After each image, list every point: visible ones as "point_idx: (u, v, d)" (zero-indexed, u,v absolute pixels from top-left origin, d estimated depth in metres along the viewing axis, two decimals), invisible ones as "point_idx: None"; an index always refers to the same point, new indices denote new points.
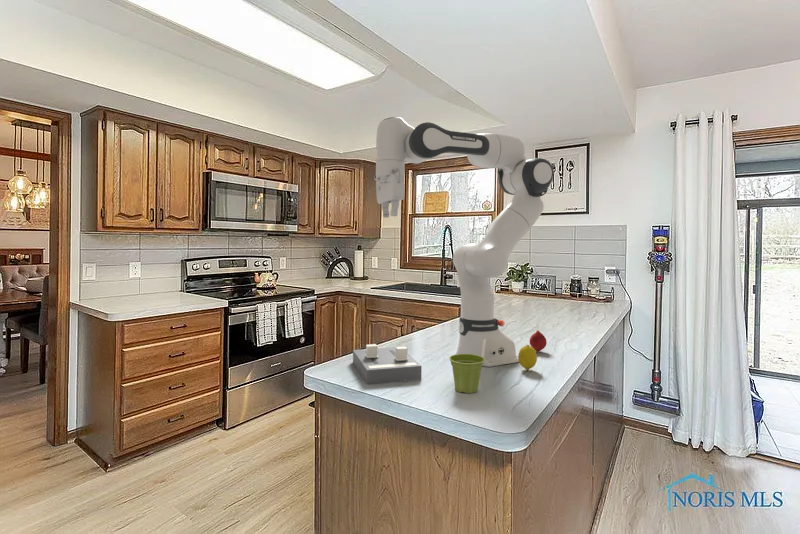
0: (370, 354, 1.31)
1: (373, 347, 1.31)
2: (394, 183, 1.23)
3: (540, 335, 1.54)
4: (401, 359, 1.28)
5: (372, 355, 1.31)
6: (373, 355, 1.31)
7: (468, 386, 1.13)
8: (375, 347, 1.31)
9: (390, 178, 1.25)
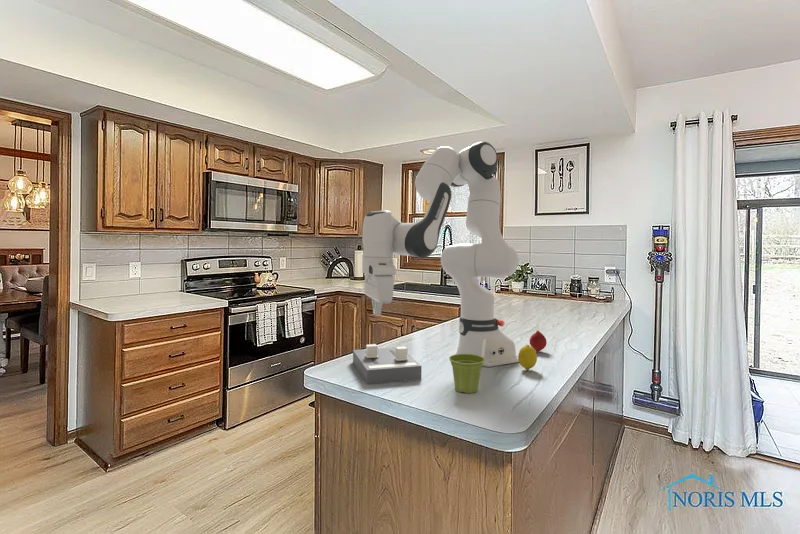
0: (370, 354, 1.31)
1: (373, 347, 1.31)
2: None
3: (540, 335, 1.54)
4: (401, 359, 1.28)
5: (372, 355, 1.31)
6: (373, 355, 1.31)
7: (468, 386, 1.13)
8: (375, 347, 1.31)
9: None
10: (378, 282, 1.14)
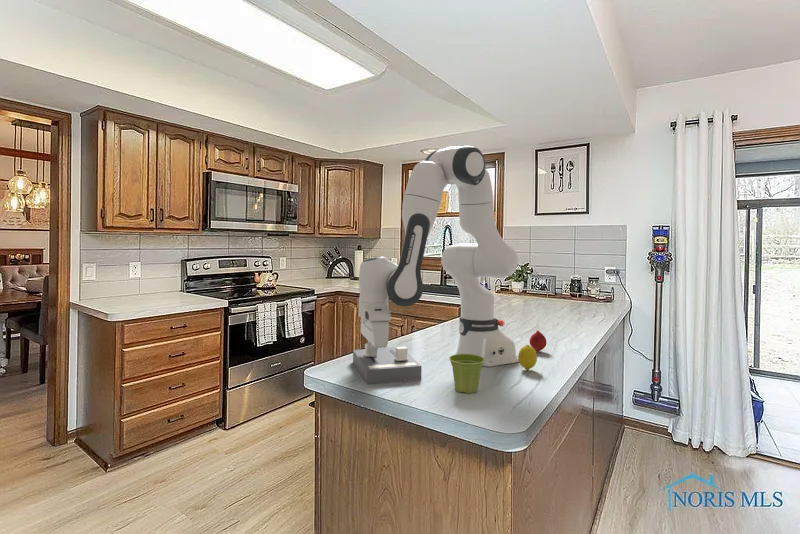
0: None
1: None
2: None
3: (540, 335, 1.54)
4: (401, 359, 1.28)
5: None
6: None
7: (468, 386, 1.13)
8: None
9: None
10: (374, 328, 1.20)
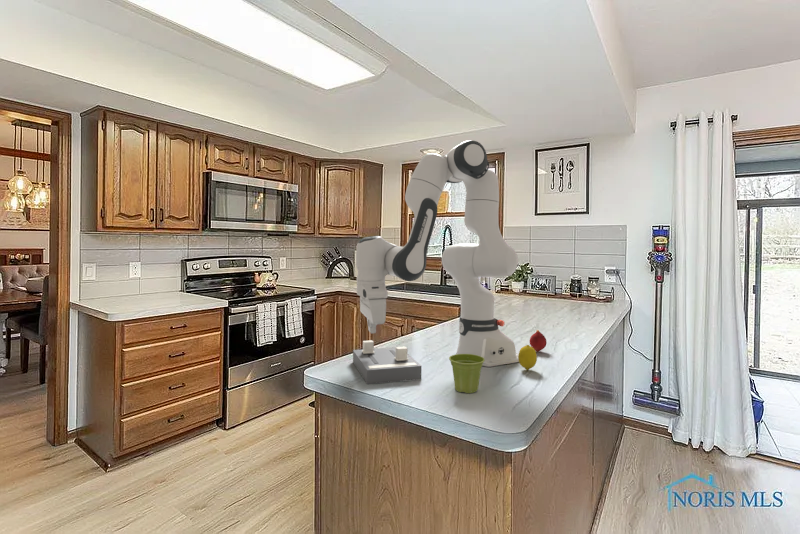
0: (367, 350, 1.35)
1: (369, 343, 1.36)
2: None
3: (540, 335, 1.54)
4: (401, 359, 1.28)
5: (368, 351, 1.36)
6: (369, 351, 1.36)
7: (468, 386, 1.13)
8: (371, 343, 1.36)
9: None
10: (372, 305, 1.24)
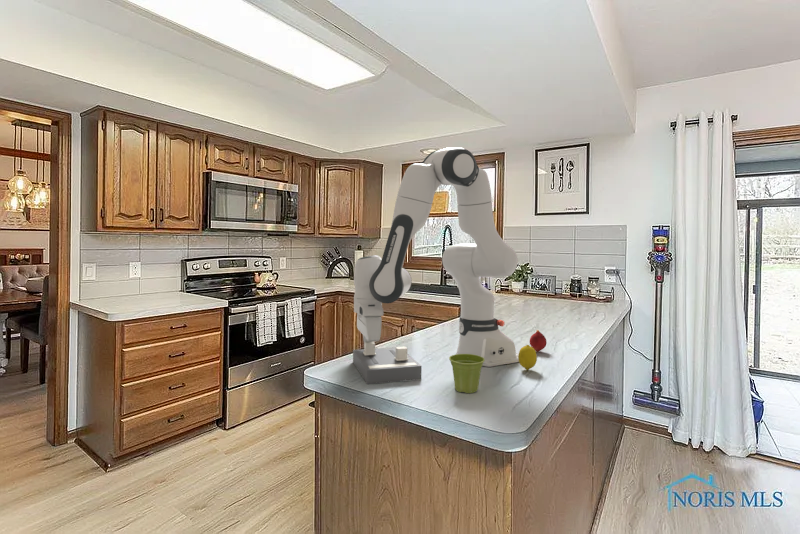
0: (368, 352, 1.34)
1: (371, 345, 1.34)
2: None
3: (540, 335, 1.54)
4: (401, 359, 1.28)
5: (370, 352, 1.34)
6: (371, 352, 1.34)
7: (468, 386, 1.13)
8: (373, 345, 1.34)
9: None
10: (367, 323, 1.28)
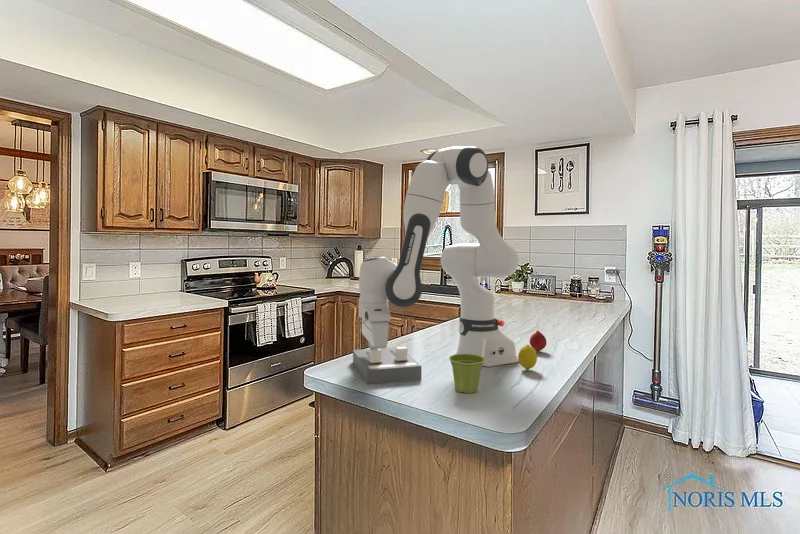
0: (374, 359, 1.26)
1: (377, 351, 1.26)
2: None
3: (540, 335, 1.54)
4: (401, 359, 1.28)
5: (376, 360, 1.26)
6: (377, 360, 1.26)
7: (468, 386, 1.13)
8: (379, 351, 1.26)
9: None
10: (373, 329, 1.20)
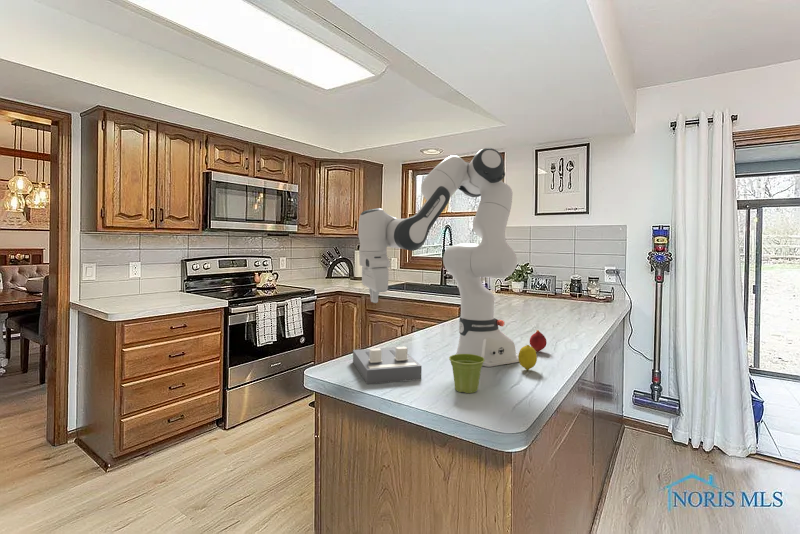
0: (374, 359, 1.26)
1: (377, 351, 1.26)
2: None
3: (540, 335, 1.54)
4: (401, 359, 1.28)
5: (376, 360, 1.26)
6: (377, 360, 1.26)
7: (468, 386, 1.13)
8: (379, 351, 1.26)
9: None
10: (374, 274, 1.29)
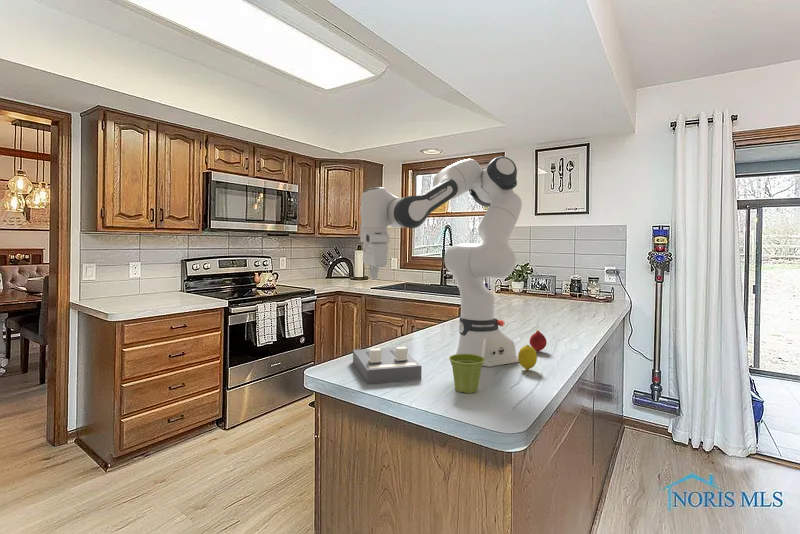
0: (374, 359, 1.26)
1: (377, 351, 1.26)
2: None
3: (540, 335, 1.54)
4: (401, 359, 1.28)
5: (376, 360, 1.26)
6: (377, 360, 1.26)
7: (468, 386, 1.13)
8: (379, 351, 1.26)
9: None
10: (374, 248, 1.32)
